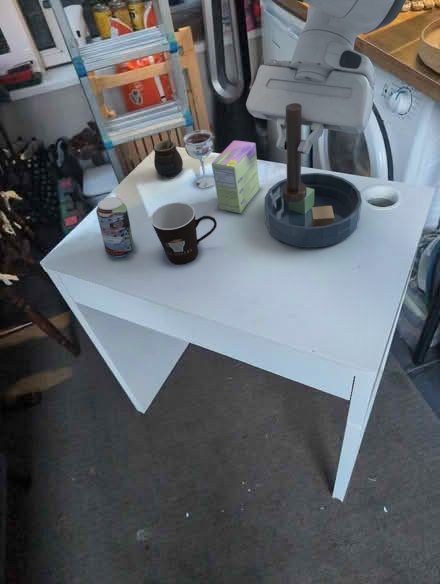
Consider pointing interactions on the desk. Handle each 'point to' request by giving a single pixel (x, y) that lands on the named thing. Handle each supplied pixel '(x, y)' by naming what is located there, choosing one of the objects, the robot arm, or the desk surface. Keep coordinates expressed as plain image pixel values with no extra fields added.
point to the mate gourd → (167, 158)
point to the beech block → (322, 216)
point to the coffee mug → (179, 231)
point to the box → (236, 176)
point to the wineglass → (200, 152)
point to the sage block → (303, 203)
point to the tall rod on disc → (293, 156)
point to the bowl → (298, 225)
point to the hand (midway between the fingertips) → (292, 150)
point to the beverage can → (115, 227)
